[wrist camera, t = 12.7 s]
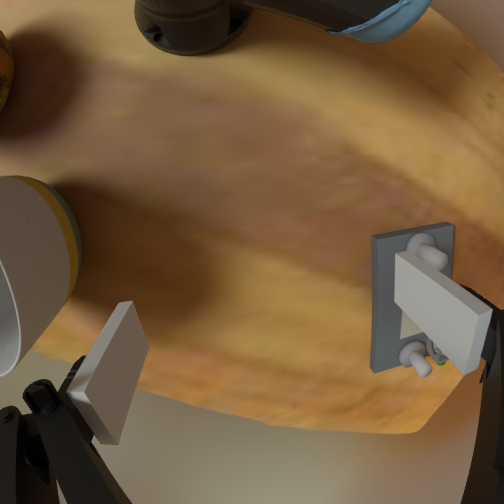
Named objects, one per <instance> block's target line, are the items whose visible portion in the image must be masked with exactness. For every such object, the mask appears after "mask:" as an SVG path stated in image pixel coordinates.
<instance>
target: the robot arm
mask: <svg viewBox="0 0 504 504" xmlns="http://www.w3.org/2000/svg"><path fill="white" fill-rule="evenodd" d="M431 2H432V0H135V9H134V14H135V20H136V23H137V26H138V28H139V30H140V32H141V33H142V34H143V36H144V37H145V38H146V39H147V40H148V41H149V42H150V43H151V44H152V45H153V46H155V47H156V48H158V49H160V50H162V51H164V52H167V53H171V54H175V55H184V56H190V55H200V54H205V53H209V52H212V51H215V50H217V49H220V48H222V47H224V46H226V45H227V44H229V43H230V42H232V41H233V40H234V39H236V38H237V37H238V36H239V35H240V34H241V33H242V32H243V30H244V29H245V28H246V26H247V24H248V23H249V20H250V18H251V14H252V10H253V8H257V9H261V10H265V11H269V12H273V13H276V14H280V15H283V16H287V17H290V18H293V19H296V20H300V21H303V22H306V23H309V24H312V25H315V26H317V27H320V28H323V29H325V31H327V32H329V33H331V34H336V35H344V36H346V37H349V38H352V39H354V40H357V41H360V42H362V43H367V44H376V43H385V42H388V41H390V40H393V39H395V38H397V37H398V36H400V35H401V34H403V33H404V32H406V31H407V30H408V29H409V28H410V27H412V26H413V25H414V24H415V23H416V22H417V21H418V20H419V19H420V17H421V16H422V15H423V14H424V13H425V11H426V10H427V9H428V7H429V5H430V4H431ZM394 302H395V303H396V304H397V305H398V306H399V307H400V308H401V309H402V310H403V311H404V312H405V313H406V314H407V315H408V316H409V317H410V318H411V319H412V320H413V321H414V322H415V323H416V324H417V325H418V327H419V328H420V329H421V330H422V331H423V332H424V333H425V334H426V335H427V336H428V337H429V338H430V339H431V340H432V341H433V342H434V343H435V345H436V346H437V347H438V348H439V349H440V350H441V351H442V352H443V353H444V354H445V355H446V356H447V358H448V359H449V360H450V361H451V362H452V363H453V364H454V365H455V366H456V368H457V369H458V370H459V371H460V372H461V373H462V374H463V375H465V374H468V373H470V372H472V371H474V370H476V369H477V368H478V365H479V361H480V358H481V357H482V358H483V359H484V360H485V361H486V364H485V367H484V370H483V373H482V376H481V379H480V382H479V383H482V381H483V389H482V399H481V408H480V416H479V423H478V430H477V436H476V442H475V447H474V452H473V457H472V462H471V466H470V471H469V475H468V479H467V483H466V486H465V490H464V494H463V497H462V501H461V504H504V310H500V309H499V308H498V307H496V306H495V305H493V304H492V303H491V302H489V301H488V300H487V299H485V298H483V297H482V296H481V295H479V294H477V292H475V291H474V290H472V289H471V288H469V287H466V286H463V285H461V284H460V285H458V284H457V283H455V282H454V281H452V280H451V279H450V278H448V277H447V276H445V275H444V274H442V273H441V272H439V271H438V270H436V269H435V268H433V267H432V266H430V265H429V264H427V263H426V262H424V261H423V260H421V259H420V258H418V257H417V256H415V255H414V254H412V253H410V252H409V251H404V252H399V253H395V293H394ZM148 349H149V345H148V342H147V339H146V337H145V334H144V331H143V328H142V326H141V323H140V320H139V317H138V314H137V312H136V309H135V306H134V303H133V301H127V302H120V303H119V304H118V305H117V307H116V308H115V310H114V311H113V313H112V315H111V316H110V318H109V319H108V321H107V323H106V324H105V326H104V327H103V329H102V331H101V332H100V334H99V336H98V337H97V339H96V341H95V342H94V344H93V346H92V347H91V349H90V351H89V352H88V354H87V355H85V356H82V357H81V358H80V359H78V360H77V361H76V362H75V363H74V365H73V367H72V368H71V370H70V372H69V374H68V375H67V378H66V379H65V380H64V382H63V384H62V385H61V387H60V389H59V391H58V392H57V391H56V389H55V387H54V385H53V384H52V382H51V381H50V380H47V379H42V380H38V381H35V382H33V383H32V384H30V385H29V386H28V387H27V388H26V389H25V391H24V393H23V399H24V401H25V402H26V403H27V405H28V406H29V408H30V409H31V411H32V412H33V413H31V414H25V415H22V414H21V412H20V411H19V410H18V408H17V407H15V406H8V407H5V408H3V409H1V410H0V504H60V502H59V496H58V489H57V482H56V479H57V481H58V484H59V486H60V488H61V491H62V493H63V495H64V497H65V499H66V502H67V504H132V503H131V501H130V500H129V499H128V497H127V496H126V494H125V493H124V492H123V490H122V489H121V487H120V486H119V485H118V483H117V482H116V480H115V478H114V477H113V475H112V474H111V473H110V471H109V470H108V468H107V466H106V464H105V463H104V461H103V460H102V458H101V456H100V455H99V453H98V451H97V450H96V448H95V446H94V445H93V444H92V442H91V441H92V438H93V435H95V437H96V438H97V439H98V441H99V442H100V443H101V444H110V445H111V444H112V445H118V444H119V440H120V437H121V433H122V430H123V427H124V423H125V420H126V417H127V413H128V410H129V407H130V404H131V400H132V397H133V394H134V391H135V388H136V385H137V382H138V379H139V376H140V373H141V370H142V367H143V364H144V361H145V358H146V355H147V352H148Z"/></svg>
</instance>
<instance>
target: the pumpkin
mask: <svg viewBox="0 0 504 504" xmlns="http://www.w3.org/2000/svg"><path fill="white" fill-rule="evenodd" d="M13 71H14V63H13V55H12V51H11V48H10V45H9V42H8V40H7V39H6V37H5V35H4V34H3V32H2V31H1V30H0V112H1V110H2V108H3V107H4V104H5V102H6V99H7V97H8V94H9V91H10V87H11V83H12V78H13Z"/></svg>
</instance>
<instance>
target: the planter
mask: <svg viewBox="0 0 504 504" xmlns="http://www.w3.org/2000/svg"><path fill="white" fill-rule="evenodd" d="M81 261H82V241H81V235H80V231H79V227H78V224H77V221H76V218H75V216H74V214H73V212H72V210H71V209H70V207H69V205H68V204H67V202H66V201H65V200H64V199H63V197H62V196H61V195H60V194H59V193H58V192H57V191H56V190H54V189H53V188H52V187H50V186H49V185H47V184H45V183H43V182H41V181H39V180H36V179H33V178H30V177H24V176H1V177H0V377H3V376H6V375H8V374H9V373H11V372H12V371H13V370H14V369H15V368H16V366H17V365H18V364H19V362H20V361H21V360H22V359H23V357H24V356H25V355H26V353H27V352H28V351H29V349H30V348H31V347H32V346H33V345H34V343H35V342H36V341H37V340H38V338H39V337H40V336H41V335H42V333H43V332H44V331H45V330H46V328H47V327H48V326H49V324H50V323H51V322H52V321H53V319H54V318H55V317H56V315H57V314H58V313H59V311H60V310H61V309H62V307H63V306H64V305H65V303H66V302H67V300H68V298H69V297H70V295H71V293H72V291H73V289H74V287H75V284H76V282H77V279H78V276H79V272H80V267H81Z"/></svg>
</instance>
